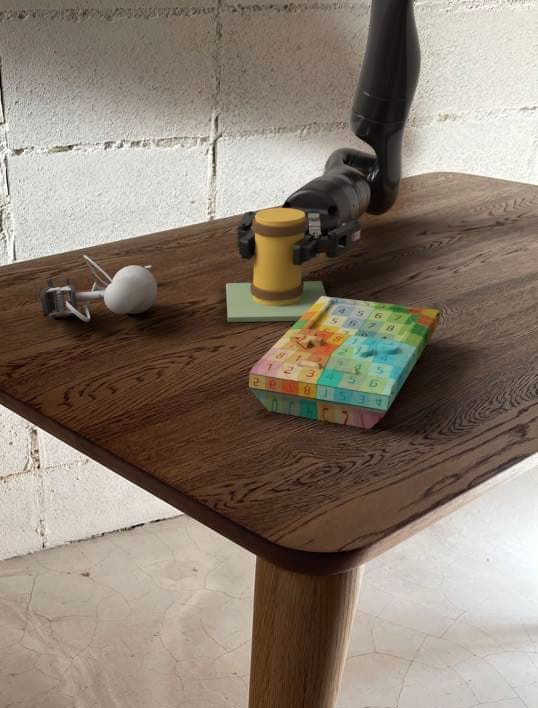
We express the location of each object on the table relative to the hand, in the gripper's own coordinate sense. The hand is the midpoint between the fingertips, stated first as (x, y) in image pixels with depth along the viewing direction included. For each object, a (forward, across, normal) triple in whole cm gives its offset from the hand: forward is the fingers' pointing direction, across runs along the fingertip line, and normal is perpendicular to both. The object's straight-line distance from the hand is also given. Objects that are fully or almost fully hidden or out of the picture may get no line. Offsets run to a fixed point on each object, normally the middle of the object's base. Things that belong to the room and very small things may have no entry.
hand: (270, 252), depth 92 cm
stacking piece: (-3, 0, +6) cm, 6 cm away
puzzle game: (+14, +13, +6) cm, 20 cm away
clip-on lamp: (+6, -17, +6) cm, 19 cm away
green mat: (-2, 0, +6) cm, 7 cm away
